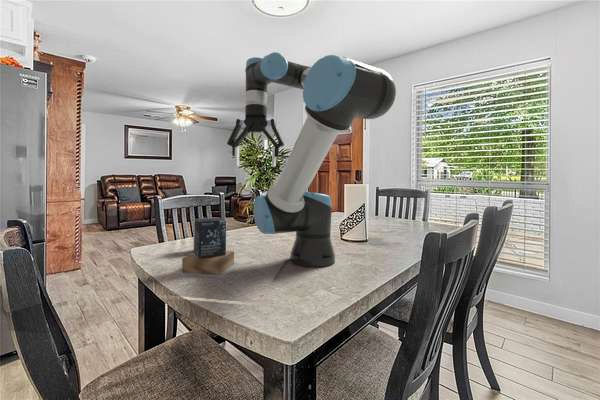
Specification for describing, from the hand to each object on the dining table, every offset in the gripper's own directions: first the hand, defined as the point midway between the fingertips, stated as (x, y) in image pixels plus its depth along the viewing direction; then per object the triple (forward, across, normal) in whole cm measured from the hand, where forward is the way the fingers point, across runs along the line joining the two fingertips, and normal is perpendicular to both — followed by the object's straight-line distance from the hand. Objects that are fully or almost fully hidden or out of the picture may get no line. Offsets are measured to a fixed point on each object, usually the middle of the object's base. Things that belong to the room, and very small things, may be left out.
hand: (255, 166), depth 106 cm
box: (+27, +7, +22) cm, 36 cm away
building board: (+32, +7, +22) cm, 39 cm away
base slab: (+31, +7, +22) cm, 39 cm away
